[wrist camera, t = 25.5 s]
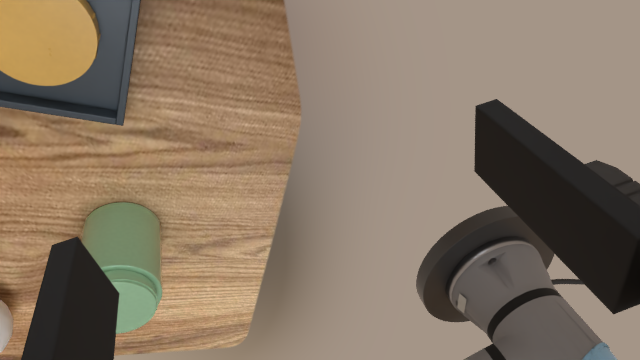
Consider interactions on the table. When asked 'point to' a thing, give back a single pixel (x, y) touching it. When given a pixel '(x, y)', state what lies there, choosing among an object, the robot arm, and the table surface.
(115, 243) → the jar
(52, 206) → the table surface
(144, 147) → the table surface
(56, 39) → the lid
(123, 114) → the dish
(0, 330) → the seamed sphere
